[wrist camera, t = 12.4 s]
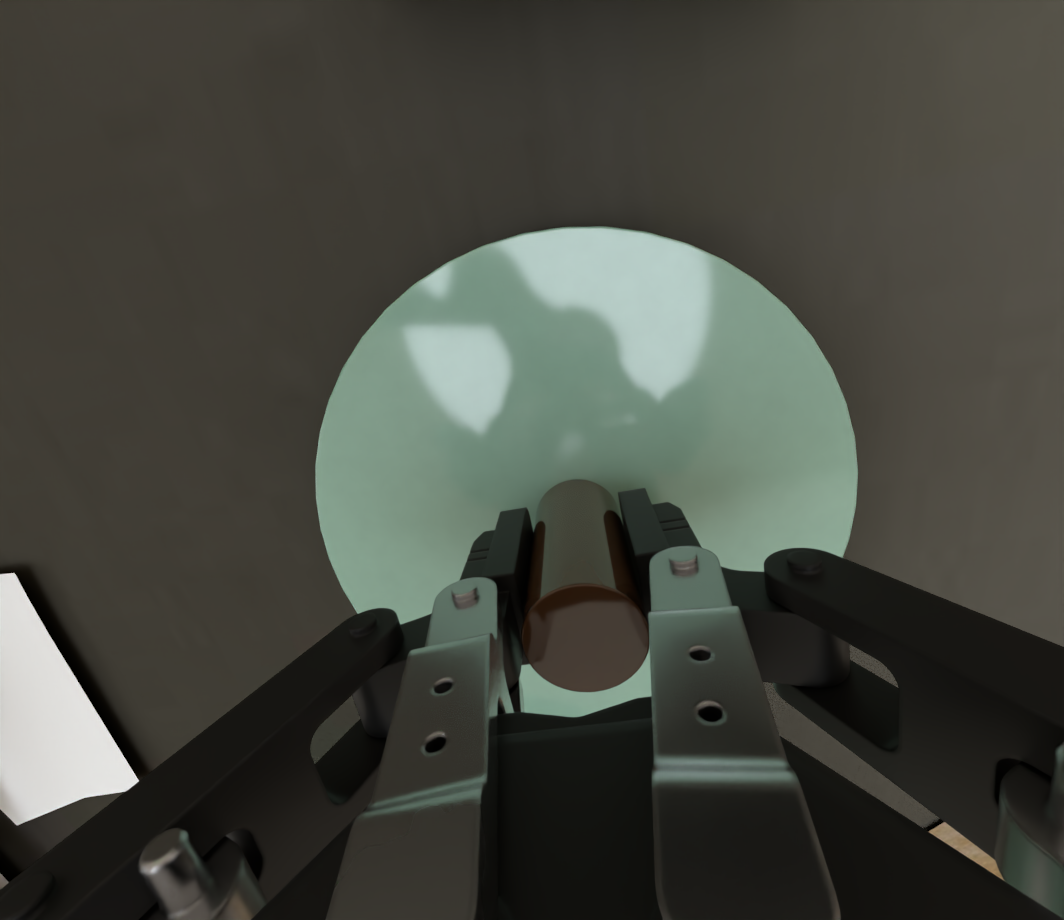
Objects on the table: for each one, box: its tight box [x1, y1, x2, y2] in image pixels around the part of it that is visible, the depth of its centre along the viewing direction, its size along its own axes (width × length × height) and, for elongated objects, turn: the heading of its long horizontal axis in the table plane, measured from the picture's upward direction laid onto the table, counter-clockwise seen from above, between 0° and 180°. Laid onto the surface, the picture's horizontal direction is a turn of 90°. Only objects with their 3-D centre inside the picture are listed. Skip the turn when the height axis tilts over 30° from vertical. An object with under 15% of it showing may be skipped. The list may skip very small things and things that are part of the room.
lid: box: [315, 226, 858, 717], centre depth 13 cm, size 15×15×7 cm
